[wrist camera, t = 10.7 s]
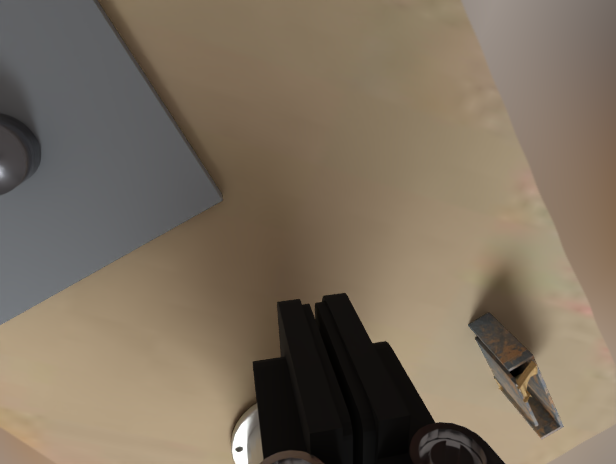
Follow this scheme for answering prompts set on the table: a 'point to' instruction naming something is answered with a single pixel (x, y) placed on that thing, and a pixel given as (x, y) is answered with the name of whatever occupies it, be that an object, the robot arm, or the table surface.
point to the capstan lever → (16, 153)
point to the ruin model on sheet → (517, 375)
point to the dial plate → (85, 152)
